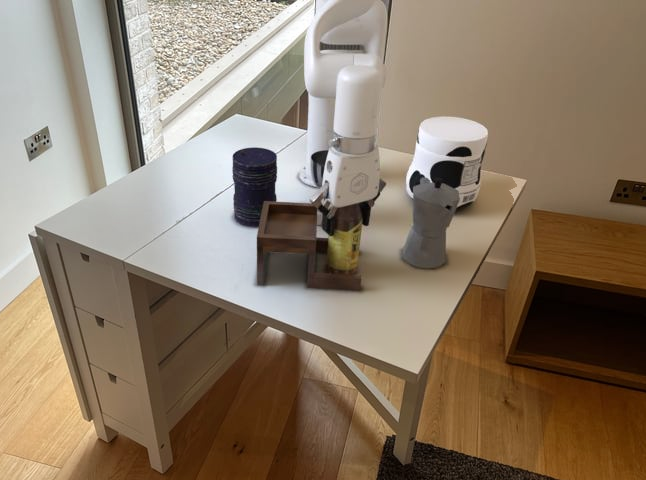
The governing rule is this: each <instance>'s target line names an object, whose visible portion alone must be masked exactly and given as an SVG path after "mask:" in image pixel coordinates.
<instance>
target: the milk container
mask: <svg viewBox="0 0 646 480" xmlns="http://www.w3.org/2000/svg"><path fill="white" fill-rule="evenodd" d="M488 132H489V131H488V128H487V127H485V126H484V125H483V124H481V123H479V122H477V121H475V120H471V119H468V118H464V117H458V116H445V115H443V116H433V117H430V118H426V119H424V120H423V121H422V122H421V123H420V125H419V128H418V131H417V136H416V137H417V138H416V140H415V146H414V154H413V159H412V162H411V164H410V165H409V168H408V170H407V173H406V177H405V190H406V193H407V196H408V197H409V198H411V200H413V187H414V179H415V178H416V177H417V176H418V175H419V174H423V175H424V176H425V178H428V179H429V180H430V183H434V179H435V178H441V179H443V182H442V183H443V184H446V185H448V186H450V187H452V188H454V189H456V190H458V192H459V197H460V200H459V203H458V205H457V208H456V210H455V211H457V210H462V209H465V208H467V207H470V206H471V205H472V204H473V203H474V202H475V201H476V199H477V198H478V195H479V193H480V190H481V185H482V173H481V171H482V164H483V160H484V157H485V153H486V148H487V145H488V138H489V133H488Z"/></svg>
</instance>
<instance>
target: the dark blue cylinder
mask: <svg viewBox="0 0 646 480" xmlns="http://www.w3.org/2000/svg"><path fill="white" fill-rule="evenodd" d="M277 161H278V156H277V153H275V151H274V150H271V149H269V148H264V147H258V146H257V147H254V146H253V147H244V148H241V149H238V150H236V151H235V152H233V154H232V167H231V168H232V169H231V170H232V182H233V185H234V188H233V189H234V194H233V196H232V200H233V212H234V214H233V217H234V221H235V222H236V223H237V224H239V225H241V226H244V227H248V228H259V223H260V218H261V213H262V208H263V203H264V201H274V202H278V198H277V194H276V183H277V181H278V180H277V179H278V163H277Z"/></svg>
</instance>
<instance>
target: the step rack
mask: <svg viewBox="0 0 646 480" xmlns="http://www.w3.org/2000/svg"><path fill="white" fill-rule="evenodd" d="M317 211H318V209H316V208H315V206H314V205H313V204H312V203H311V202H294V201H293V202H291V201H276V202H274V201H264V203H263V208H262V213H261V218H260V223H259V227H257V234H256V285H257V286H264V283H265V276H266V271H267V264H268V258H269V253H277V254H279V253H280V254H297V255H298V254H299V255H308V266H307V284H306V288H307V289H321V290H337V291H338V290H339V291H352V292H353V291H355V292H361V286H362V274H355V273H353V274H336V273H330V272H317V271H316V269H315V268H316V253H322V254H323V253H325V254H327V250H328V238H329V237H317V234H318V233H317V232H318V231H317V230H318V225H317Z"/></svg>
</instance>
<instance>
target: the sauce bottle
mask: <svg viewBox="0 0 646 480" xmlns="http://www.w3.org/2000/svg"><path fill="white" fill-rule="evenodd" d="M333 217H335V230H334V235H333V236H329V235H328V237H327V238H328V250H327V253H326V269H327V271H328V273H336V274H355V272H356V271H357V269H358V263H359V255H360V246H361V238H362V229H363V224H362V220H363V217H362V213H361V210H360V206H359V203H356V204H352V205H348V206H345V207H339V208H337V210H336V211H335V213H334V215H333Z"/></svg>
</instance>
